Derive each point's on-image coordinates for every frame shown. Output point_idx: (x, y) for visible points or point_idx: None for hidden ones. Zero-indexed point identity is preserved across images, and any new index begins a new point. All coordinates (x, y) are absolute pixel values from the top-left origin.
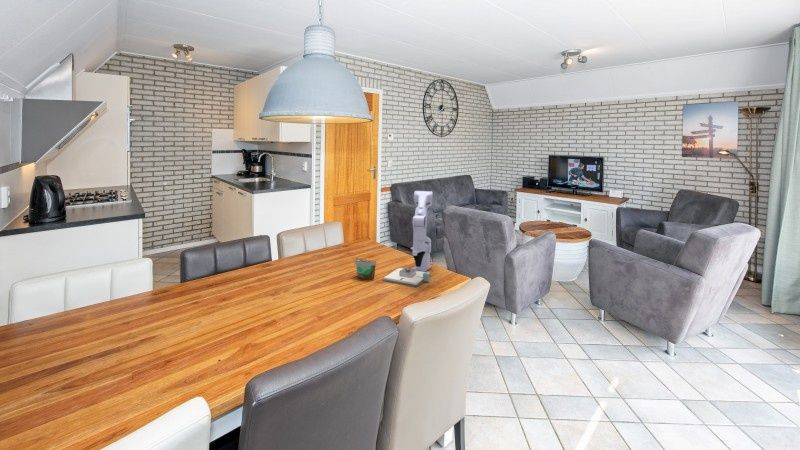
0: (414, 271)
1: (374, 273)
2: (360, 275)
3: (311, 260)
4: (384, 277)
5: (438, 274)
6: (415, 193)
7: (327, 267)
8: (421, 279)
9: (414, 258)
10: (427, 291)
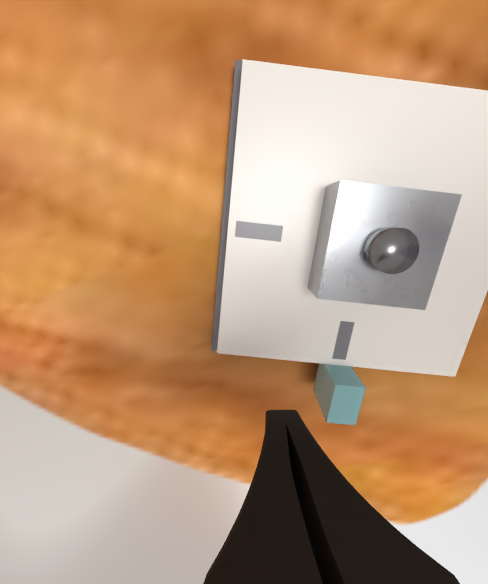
0: (387, 304)
1: None
2: None
3: None
4: (242, 65)
5: (484, 397)
6: None
7: None
8: (301, 360)
9: (245, 503)
10: (180, 409)
